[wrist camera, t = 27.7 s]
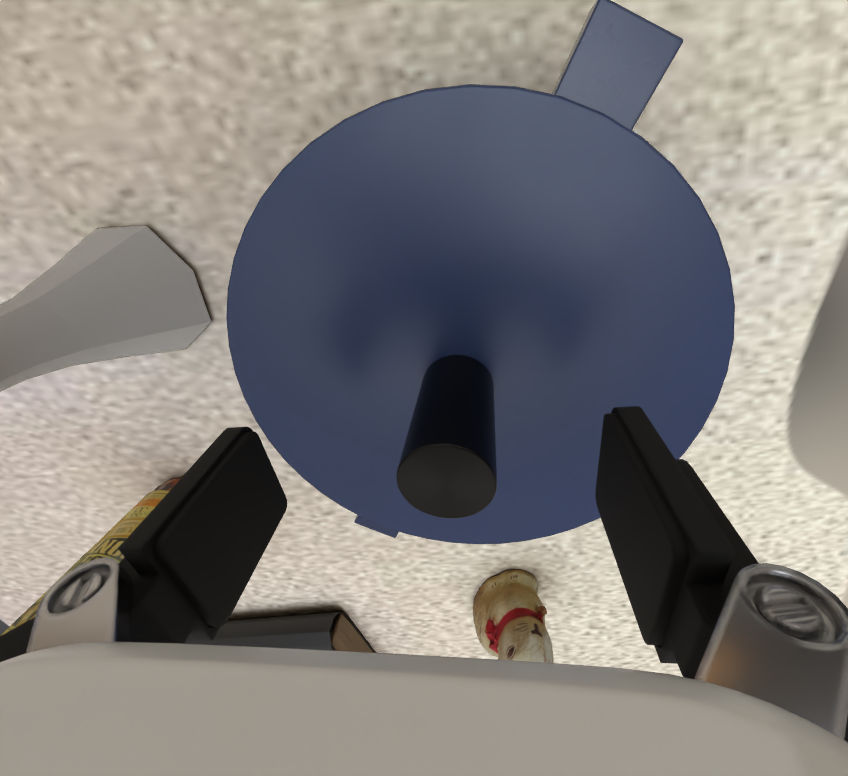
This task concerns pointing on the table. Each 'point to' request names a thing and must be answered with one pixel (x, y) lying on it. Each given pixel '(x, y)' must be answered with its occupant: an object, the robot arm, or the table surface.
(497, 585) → the chocolate bunny
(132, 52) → the table surface
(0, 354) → the flask
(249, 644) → the file folder
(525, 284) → the lid
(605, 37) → the pot
